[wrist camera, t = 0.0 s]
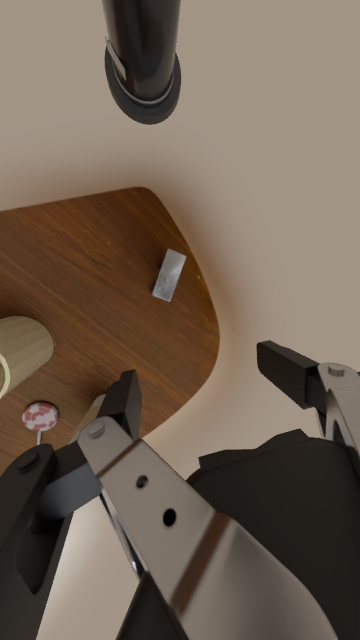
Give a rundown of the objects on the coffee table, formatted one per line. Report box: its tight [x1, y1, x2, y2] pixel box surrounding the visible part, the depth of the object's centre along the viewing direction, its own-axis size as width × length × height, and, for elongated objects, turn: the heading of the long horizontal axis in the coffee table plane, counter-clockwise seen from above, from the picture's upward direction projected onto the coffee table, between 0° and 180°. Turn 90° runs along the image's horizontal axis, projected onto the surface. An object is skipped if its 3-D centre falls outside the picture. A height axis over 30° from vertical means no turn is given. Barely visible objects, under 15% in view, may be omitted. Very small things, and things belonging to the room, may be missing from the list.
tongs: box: [151, 249, 186, 302], centre depth 27 cm, size 7×2×16 cm, turn 159°
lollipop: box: [22, 402, 59, 445], centre depth 37 cm, size 7×1×15 cm
